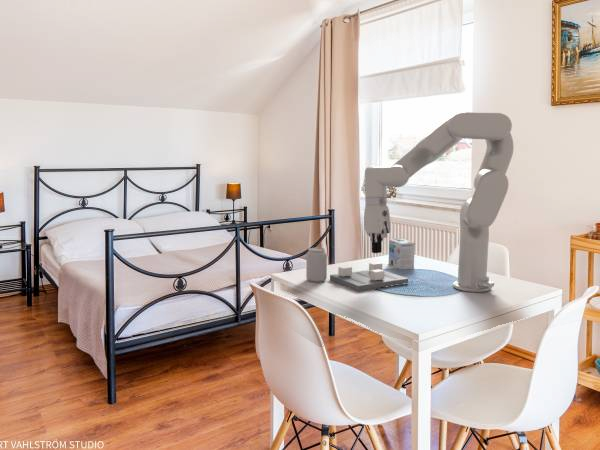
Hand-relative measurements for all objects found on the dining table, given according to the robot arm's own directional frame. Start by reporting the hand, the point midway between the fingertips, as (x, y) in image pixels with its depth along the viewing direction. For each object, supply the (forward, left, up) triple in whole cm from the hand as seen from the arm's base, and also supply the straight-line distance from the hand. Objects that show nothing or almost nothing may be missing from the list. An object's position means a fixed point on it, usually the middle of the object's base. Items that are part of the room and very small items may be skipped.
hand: (376, 252), depth 187 cm
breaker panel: (+4, +1, -12) cm, 12 cm away
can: (+14, +16, -12) cm, 25 cm away
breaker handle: (-2, +1, -9) cm, 9 cm away
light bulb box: (+19, -27, -12) cm, 35 cm away
